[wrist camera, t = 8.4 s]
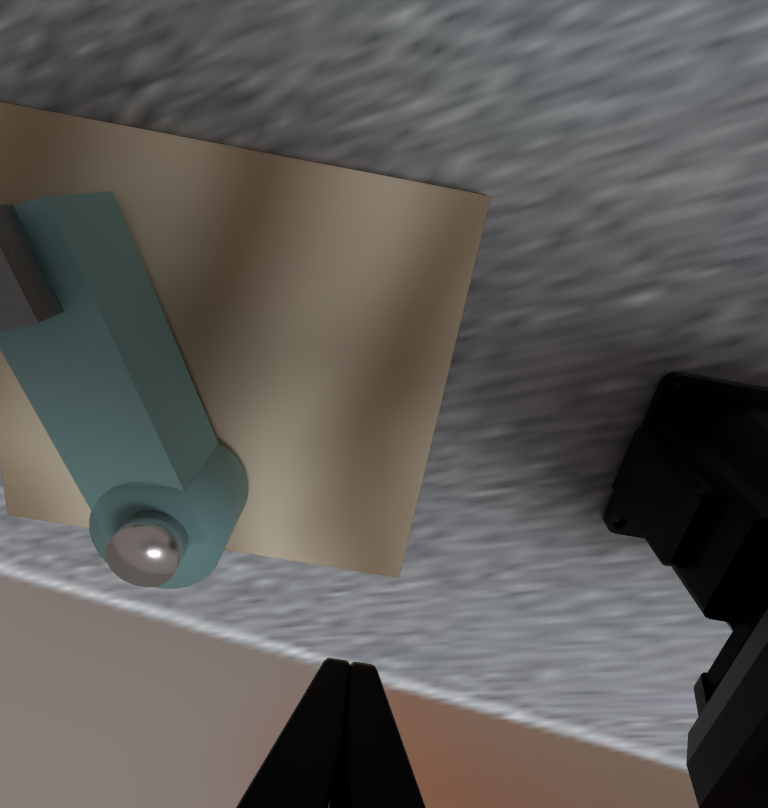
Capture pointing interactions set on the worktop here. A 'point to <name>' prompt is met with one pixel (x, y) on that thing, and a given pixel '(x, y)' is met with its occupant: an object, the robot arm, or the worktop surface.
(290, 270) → the board
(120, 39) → the worktop surface
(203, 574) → the link
